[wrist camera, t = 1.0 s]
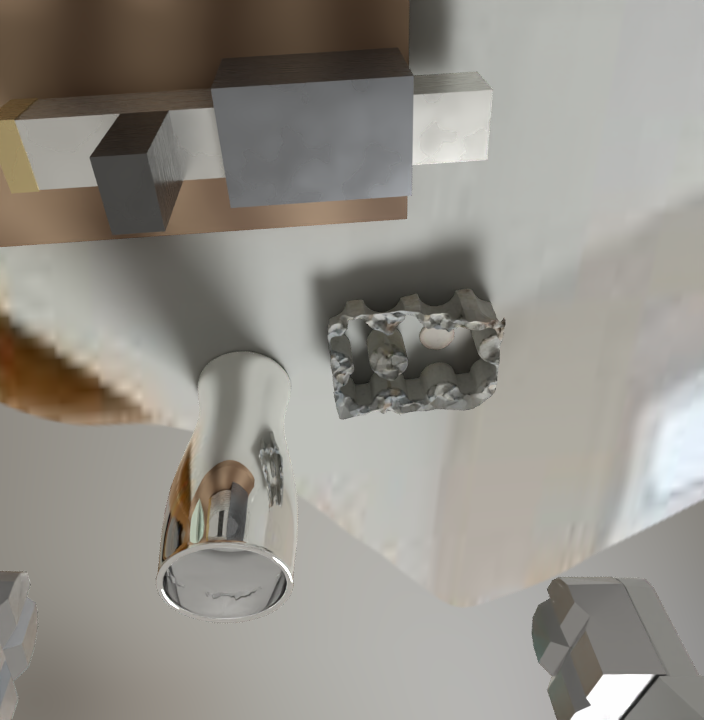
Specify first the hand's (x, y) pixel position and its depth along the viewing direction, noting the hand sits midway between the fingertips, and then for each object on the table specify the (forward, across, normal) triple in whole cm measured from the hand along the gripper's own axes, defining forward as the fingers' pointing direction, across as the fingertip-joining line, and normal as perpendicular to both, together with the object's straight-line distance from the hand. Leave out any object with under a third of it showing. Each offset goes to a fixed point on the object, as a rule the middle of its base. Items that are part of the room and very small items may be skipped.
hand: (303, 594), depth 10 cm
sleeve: (+26, -1, 0) cm, 26 cm away
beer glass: (+28, +1, +19) cm, 34 cm away
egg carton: (+28, -9, +14) cm, 32 cm away
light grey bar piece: (+25, +2, +1) cm, 25 cm away
